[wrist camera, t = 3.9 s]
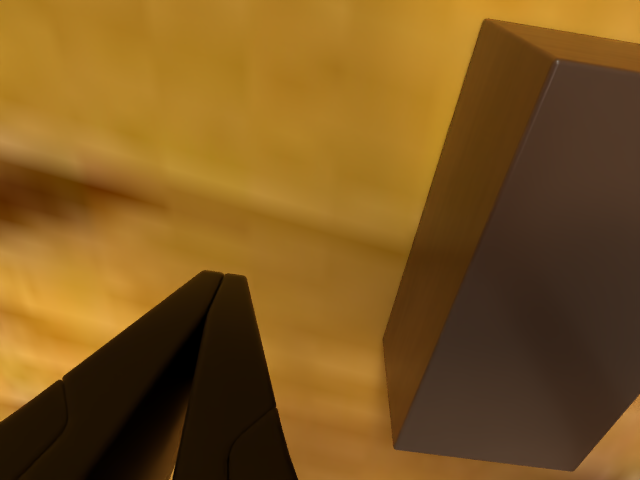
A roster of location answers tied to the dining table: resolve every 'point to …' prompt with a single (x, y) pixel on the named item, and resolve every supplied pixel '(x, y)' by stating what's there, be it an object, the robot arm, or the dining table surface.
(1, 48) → the dining table surface
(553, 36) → the block
